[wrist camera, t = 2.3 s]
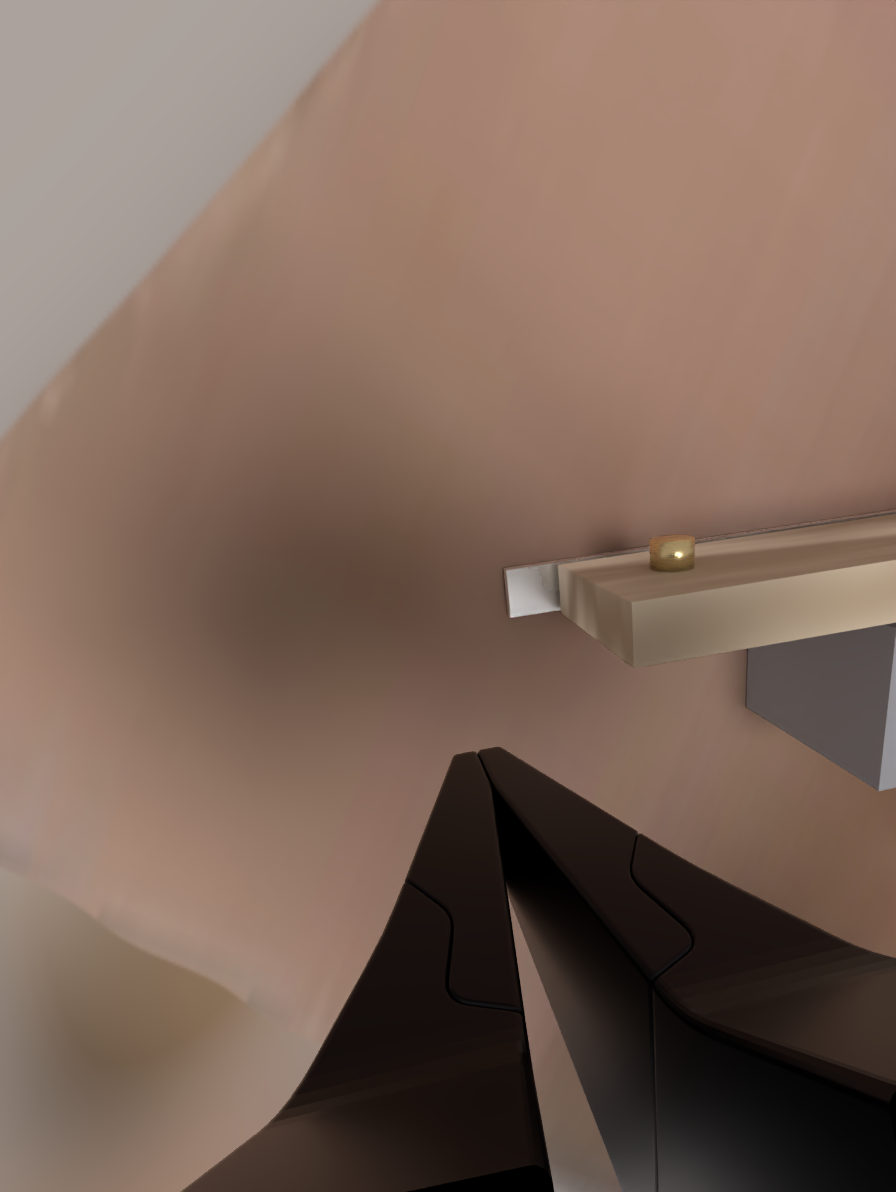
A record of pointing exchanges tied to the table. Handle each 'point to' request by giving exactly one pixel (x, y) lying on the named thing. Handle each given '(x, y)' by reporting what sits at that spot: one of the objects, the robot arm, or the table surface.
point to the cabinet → (833, 697)
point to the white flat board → (540, 581)
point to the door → (735, 590)
